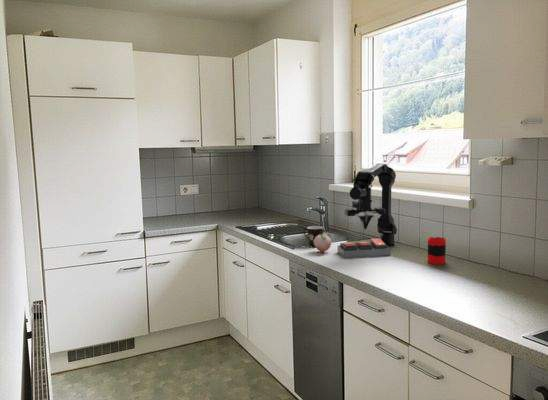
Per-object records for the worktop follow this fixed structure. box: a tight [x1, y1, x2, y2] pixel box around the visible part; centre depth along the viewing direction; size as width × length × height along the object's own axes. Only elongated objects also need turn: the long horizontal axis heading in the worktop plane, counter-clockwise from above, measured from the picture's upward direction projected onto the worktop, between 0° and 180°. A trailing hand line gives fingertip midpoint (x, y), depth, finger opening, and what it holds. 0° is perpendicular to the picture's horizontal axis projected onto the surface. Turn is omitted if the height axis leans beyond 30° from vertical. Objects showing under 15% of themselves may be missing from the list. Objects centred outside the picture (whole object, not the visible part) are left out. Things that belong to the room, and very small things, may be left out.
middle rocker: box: [356, 241, 370, 245], centre depth 230 cm, size 4×8×1 cm, turn 7°
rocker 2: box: [370, 237, 385, 246], centre depth 231 cm, size 4×8×1 cm, turn 8°
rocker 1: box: [341, 242, 355, 246], centre depth 229 cm, size 4×8×1 cm, turn 7°
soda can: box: [427, 234, 447, 266], centre depth 211 cm, size 8×8×12 cm
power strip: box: [337, 240, 391, 259], centre depth 230 cm, size 23×12×5 cm, turn 98°
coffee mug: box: [303, 225, 324, 248], centre depth 251 cm, size 12×9×10 cm
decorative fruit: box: [314, 232, 332, 253], centre depth 236 cm, size 9×8×10 cm
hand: (365, 229), depth 226 cm, fingers closed
